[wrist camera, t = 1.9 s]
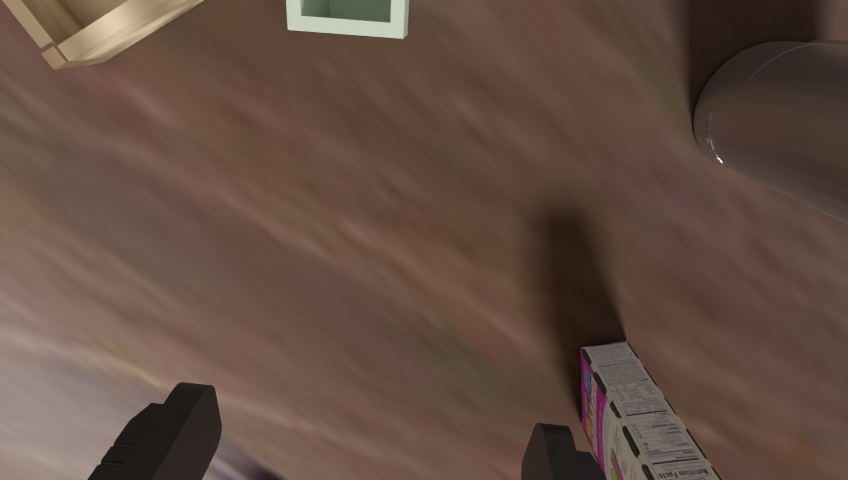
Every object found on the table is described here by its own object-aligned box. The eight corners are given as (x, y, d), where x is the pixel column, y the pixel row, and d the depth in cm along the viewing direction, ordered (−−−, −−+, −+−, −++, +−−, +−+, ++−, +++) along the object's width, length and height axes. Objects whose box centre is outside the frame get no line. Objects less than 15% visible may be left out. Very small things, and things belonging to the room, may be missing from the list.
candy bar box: (627, 418, 48) (718, 593, 34) (580, 425, 49) (650, 600, 34) (630, 337, 43) (738, 498, 29) (578, 344, 44) (659, 507, 29)
